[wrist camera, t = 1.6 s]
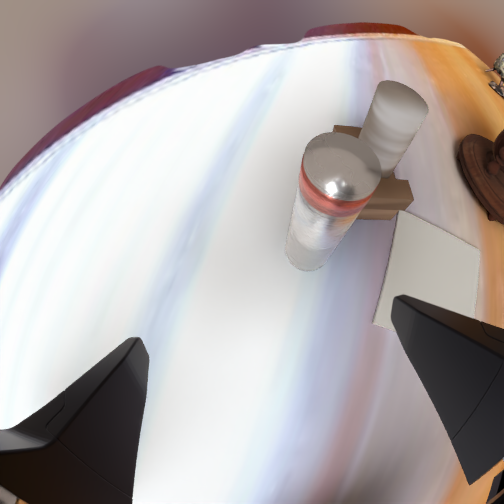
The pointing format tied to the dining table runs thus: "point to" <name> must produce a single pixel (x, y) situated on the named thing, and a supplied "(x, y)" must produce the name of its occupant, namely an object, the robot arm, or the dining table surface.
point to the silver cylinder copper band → (329, 196)
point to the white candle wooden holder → (389, 144)
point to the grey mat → (428, 269)
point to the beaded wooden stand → (485, 171)
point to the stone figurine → (503, 68)
